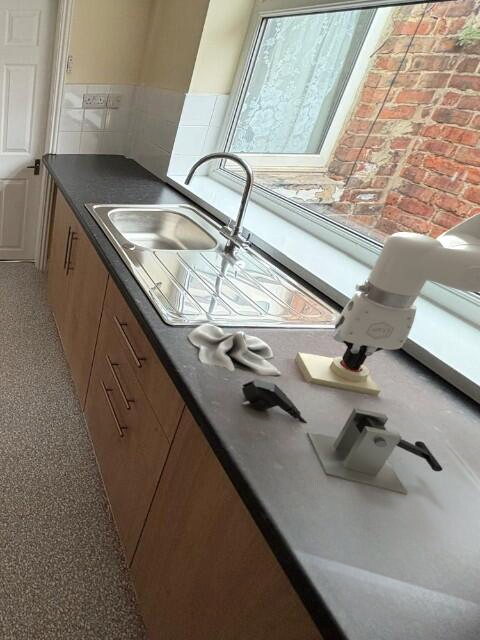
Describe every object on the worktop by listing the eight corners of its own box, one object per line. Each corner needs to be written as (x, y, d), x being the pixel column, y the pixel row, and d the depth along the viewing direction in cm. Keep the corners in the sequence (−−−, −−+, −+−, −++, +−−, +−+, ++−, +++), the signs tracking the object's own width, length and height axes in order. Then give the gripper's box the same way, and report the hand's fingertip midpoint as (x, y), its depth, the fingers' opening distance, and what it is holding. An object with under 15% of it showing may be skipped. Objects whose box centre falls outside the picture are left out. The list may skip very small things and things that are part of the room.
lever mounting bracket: (376, 452, 76) (403, 410, 71) (403, 498, 68) (436, 454, 63) (304, 436, 79) (326, 395, 74) (323, 478, 71) (348, 435, 67)
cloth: (186, 321, 112) (191, 302, 109) (266, 336, 106) (273, 316, 103) (192, 376, 94) (199, 354, 91) (289, 398, 88) (300, 376, 85)
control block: (356, 370, 95) (363, 356, 93) (376, 398, 87) (384, 384, 85) (294, 359, 98) (300, 345, 97) (308, 385, 91) (315, 371, 89)
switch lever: (416, 449, 71) (429, 441, 70) (434, 474, 67) (448, 466, 66) (351, 418, 72) (362, 410, 71) (365, 441, 68) (377, 433, 67)
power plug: (313, 435, 78) (263, 386, 80) (275, 446, 83) (228, 399, 85) (312, 415, 82) (265, 369, 84) (276, 427, 87) (232, 383, 89)
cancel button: (353, 368, 92) (356, 362, 91) (360, 378, 89) (363, 371, 89) (336, 365, 93) (339, 359, 92) (342, 374, 90) (345, 368, 89)
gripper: (350, 297, 81) (315, 368, 90) (448, 311, 77) (402, 385, 85) (334, 278, 87) (303, 347, 96) (424, 290, 83) (383, 361, 91)
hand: (350, 364), depth 90 cm, fingers closed
